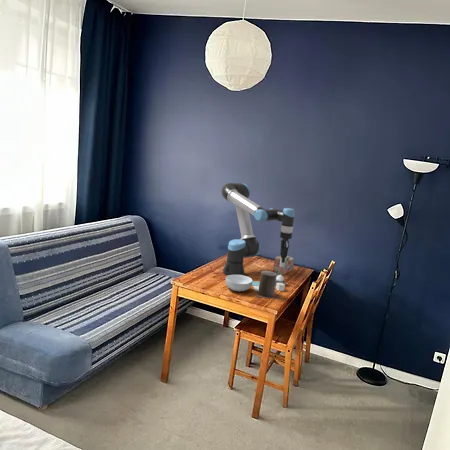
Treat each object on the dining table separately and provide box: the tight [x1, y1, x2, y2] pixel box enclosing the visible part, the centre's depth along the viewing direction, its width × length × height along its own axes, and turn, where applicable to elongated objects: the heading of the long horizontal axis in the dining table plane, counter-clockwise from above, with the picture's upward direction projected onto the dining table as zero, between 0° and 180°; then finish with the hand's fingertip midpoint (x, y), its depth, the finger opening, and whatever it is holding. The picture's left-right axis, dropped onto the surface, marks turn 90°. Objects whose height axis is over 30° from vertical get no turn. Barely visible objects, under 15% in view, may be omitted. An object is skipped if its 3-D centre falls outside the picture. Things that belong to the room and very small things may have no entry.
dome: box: [276, 275, 285, 282], centre depth 277 cm, size 5×5×5 cm
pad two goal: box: [251, 280, 260, 287], centre depth 273 cm, size 9×8×1 cm
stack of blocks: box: [272, 255, 295, 276], centre depth 306 cm, size 21×6×12 cm, turn 147°
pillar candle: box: [257, 270, 278, 298], centre depth 254 cm, size 10×10×15 cm
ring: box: [253, 288, 280, 300], centre depth 256 cm, size 13×13×1 cm
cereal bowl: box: [225, 275, 253, 293], centre depth 258 cm, size 17×17×7 cm
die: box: [275, 283, 286, 292], centre depth 266 cm, size 4×4×4 cm
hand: (281, 266), depth 275 cm, fingers closed
